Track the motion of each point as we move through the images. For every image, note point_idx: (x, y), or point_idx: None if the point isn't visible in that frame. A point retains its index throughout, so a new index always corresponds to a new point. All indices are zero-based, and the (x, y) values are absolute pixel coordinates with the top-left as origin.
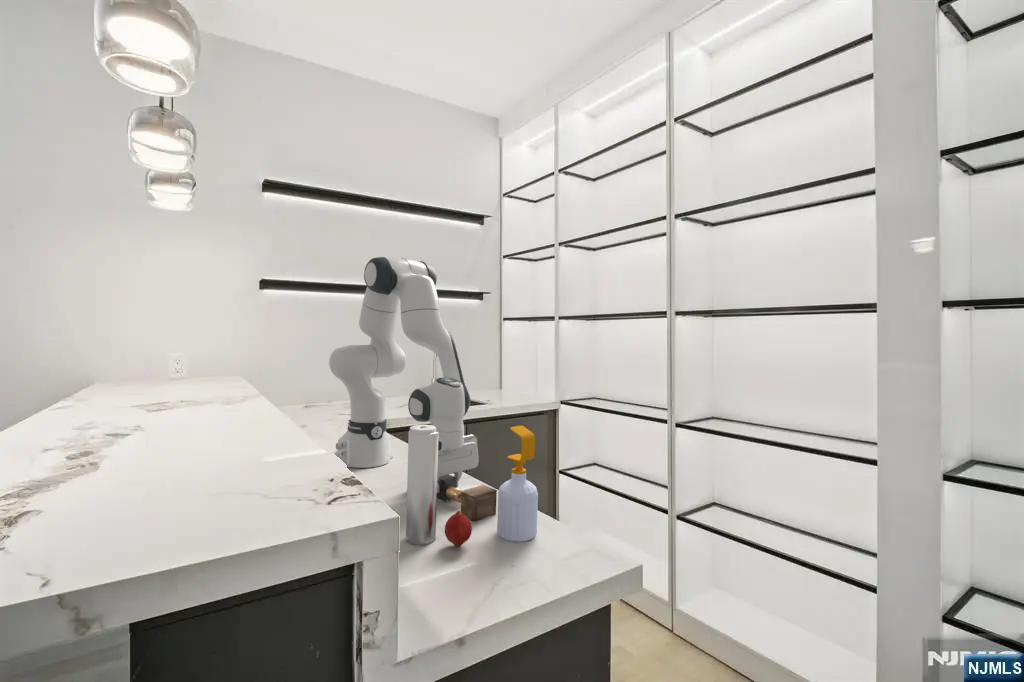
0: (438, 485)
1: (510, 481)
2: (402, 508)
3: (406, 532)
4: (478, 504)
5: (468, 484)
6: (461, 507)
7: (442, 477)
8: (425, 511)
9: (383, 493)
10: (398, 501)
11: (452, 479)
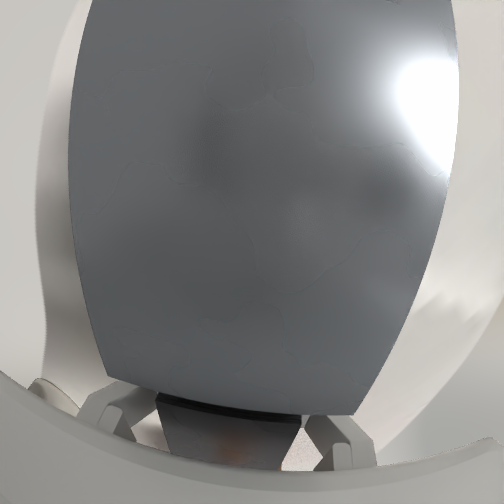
0: (146, 411)
1: None
2: (43, 255)
3: (29, 387)
4: None
5: (491, 264)
6: None
7: (199, 432)
8: None
9: (66, 32)
10: (52, 173)
11: (238, 464)
